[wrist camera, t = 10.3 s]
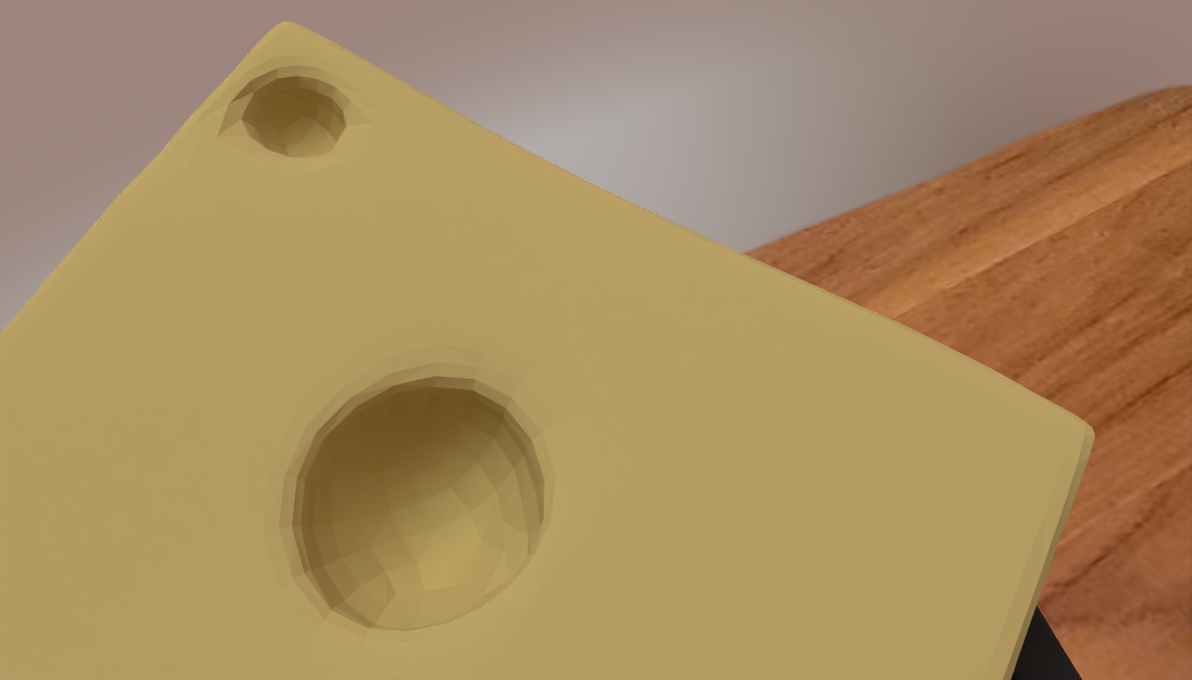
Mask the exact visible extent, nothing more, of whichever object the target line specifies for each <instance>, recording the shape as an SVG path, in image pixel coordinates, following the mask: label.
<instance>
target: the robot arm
mask: <svg viewBox="0 0 1192 680" xmlns="http://www.w3.org/2000/svg"><path fill="white" fill-rule="evenodd" d="M1011 680H1082V679H1081V677H1080V675H1079V674H1078V672H1077V671H1076V669H1075V667H1074V666H1073V664H1072V662H1071V661H1070V659H1069V658H1068V656H1067V654H1066V653H1065V651H1064V649H1063V648H1062V646H1061V644H1060V643H1059V641H1058V640H1057V638H1056V636H1055V635H1054V633H1053V631H1052V630H1051V628H1050V627H1049V625H1048V623H1047V622H1046V620H1045V618H1044V617H1043V615H1042V614H1041V612H1040V610H1039V609H1038V607H1037V605H1036V608H1035V611H1034V614H1033V616H1032V619H1031V622H1030V625H1029V628H1028V631H1027V634H1026V636H1025V639H1024V642H1023V645H1022V648H1021V651H1020V654H1019V656H1018V659H1017V662H1016V665H1015V668H1014V672H1013V675H1012V678H1011Z"/></svg>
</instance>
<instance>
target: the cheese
mask: <svg viewBox="0 0 1192 680" xmlns="http://www.w3.org/2000/svg"><path fill="white" fill-rule="evenodd" d="M1094 438H1095V435H1094V431H1093V428H1092V427H1091V426H1090V425H1088V424H1087V423H1086V422H1085V421H1083V420H1082V419H1080V418H1079V417H1077V416H1076V415H1074V414H1073V413H1071V412H1069V411H1067V410H1065V409H1064V408H1062V407H1060V406H1058V405H1056V404H1055V403H1053V402H1051V401H1049V400H1047V399H1045V398H1044V397H1042V396H1040V395H1038V394H1036V393H1034V392H1032V391H1030V390H1028V389H1026V388H1024V387H1023V386H1021V385H1019V384H1018V383H1016V382H1014V381H1012V380H1010V379H1009V378H1007V377H1005V376H1003V375H1001V374H1000V373H998V372H996V371H994V370H992V369H991V368H989V367H987V366H985V365H983V364H981V363H979V362H977V361H975V360H973V359H971V358H969V357H967V356H965V355H963V354H961V353H959V352H957V351H955V350H953V349H951V348H949V347H947V346H945V345H943V344H941V343H939V342H937V341H935V340H933V339H931V338H929V337H927V336H925V335H923V334H921V333H919V332H917V331H915V330H913V329H911V328H909V327H907V326H904V325H902V324H900V323H898V322H895V321H893V320H891V319H889V318H886V317H884V316H882V315H880V314H877V313H875V312H873V311H871V310H868V309H866V308H864V307H861V306H859V305H857V304H855V303H852V302H850V301H848V300H846V299H843V298H841V297H839V296H837V295H834V294H832V293H830V292H828V291H825V290H823V289H821V288H819V287H816V286H814V285H812V284H810V283H807V282H805V281H803V280H801V279H798V278H796V277H794V276H792V275H789V274H787V273H785V272H782V271H780V270H778V269H776V268H773V267H771V266H769V265H767V264H764V263H762V262H760V261H758V260H755V259H753V258H751V257H749V256H746V255H744V254H742V253H740V252H737V251H735V250H733V249H730V248H728V247H726V246H724V245H722V244H720V243H718V242H715V241H713V240H711V239H709V238H707V237H704V236H702V235H700V234H698V233H696V232H694V231H691V230H689V229H687V228H685V227H683V226H681V225H678V224H676V223H674V222H672V221H670V220H667V219H665V218H663V217H661V216H659V215H657V214H655V213H653V212H650V211H648V210H646V209H644V208H642V207H640V206H638V205H635V204H634V203H632V202H629V201H627V200H625V199H623V198H621V197H619V196H617V195H615V194H613V193H611V192H609V191H606V190H604V189H602V188H600V187H598V186H596V185H594V184H592V183H590V182H588V181H586V180H584V179H582V178H580V177H578V176H576V175H574V174H572V173H570V172H568V171H566V170H564V169H562V168H560V167H558V166H556V165H555V164H552V163H551V162H548V161H547V160H545V159H543V158H541V157H539V156H537V155H535V154H533V153H531V152H529V151H527V150H525V149H523V148H521V147H519V146H517V145H516V144H513V143H512V142H510V141H508V140H506V139H504V138H503V137H501V136H499V135H497V134H496V133H494V132H492V131H490V130H488V129H487V128H485V127H483V126H481V125H480V124H478V123H476V122H474V121H472V120H470V119H469V118H467V117H465V116H463V115H462V114H460V113H458V112H456V111H455V110H453V109H451V108H449V107H447V106H446V105H444V104H442V103H440V102H439V101H437V100H435V99H433V98H431V97H430V96H428V95H426V94H425V93H423V92H421V91H419V90H417V89H416V88H414V87H412V86H411V85H409V84H407V83H405V82H403V81H402V80H400V79H399V78H397V77H395V76H393V75H392V74H390V73H388V72H386V71H385V70H383V69H381V68H379V67H378V66H375V65H374V64H372V63H370V62H369V61H367V60H365V59H363V58H361V57H360V56H358V55H356V54H354V53H352V52H351V51H349V50H347V49H345V48H344V47H342V46H340V45H338V44H336V43H334V42H332V41H331V40H329V39H327V38H325V37H323V36H321V35H319V34H317V33H315V32H313V31H311V30H309V29H307V28H305V27H302V26H300V25H298V24H296V23H293V22H288V21H284V22H282V23H280V24H278V25H276V26H275V27H274V28H273V29H272V30H271V31H270V32H268V33H267V34H266V35H265V36H264V37H263V38H262V39H261V41H260V42H259V43H258V44H257V45H256V46H255V47H254V48H253V49H252V50H251V51H250V52H249V53H248V55H247V56H246V57H245V58H244V59H243V60H242V61H241V63H240V64H239V65H238V66H237V67H236V68H235V69H234V71H233V72H232V73H231V74H230V75H229V76H228V77H227V78H226V80H224V82H223V83H222V84H221V85H220V86H219V87H218V88H217V89H216V90H215V91H214V92H213V93H212V94H211V95H210V96H209V97H208V98H207V99H206V100H205V102H204V103H203V104H202V105H201V106H200V107H199V108H198V109H197V110H196V111H195V112H194V114H193V115H192V116H191V117H190V118H189V119H188V120H187V121H186V123H185V124H184V125H183V126H182V127H181V128H180V130H179V131H178V132H177V133H176V135H175V136H174V137H173V138H172V139H171V140H170V141H169V143H168V144H167V145H166V146H165V147H164V148H163V150H162V151H161V152H160V153H159V154H158V156H157V157H156V158H155V159H154V160H153V161H152V162H151V163H150V164H149V165H148V166H147V167H146V168H145V169H144V170H143V171H142V172H141V173H140V174H139V175H138V176H137V177H136V178H135V179H134V180H133V181H132V182H131V183H130V184H129V185H128V186H127V187H126V188H125V189H124V190H123V191H122V192H121V193H120V195H119V196H117V198H116V199H115V200H114V201H113V202H112V203H111V204H110V206H109V207H108V208H107V209H106V210H105V212H104V213H103V214H102V215H101V216H100V217H99V219H98V220H97V221H96V222H95V223H94V225H93V226H92V227H91V228H90V229H89V230H88V232H87V233H86V234H85V235H84V236H83V238H82V239H81V240H80V241H79V242H78V243H77V245H76V246H75V247H74V248H73V249H72V250H71V252H70V253H69V254H68V255H67V257H65V259H64V260H63V261H62V262H61V263H60V265H59V266H58V267H57V268H56V269H55V270H54V271H53V273H52V274H51V275H50V276H49V277H48V278H47V280H46V281H45V282H44V283H43V284H42V286H41V287H40V288H39V289H38V290H37V291H36V292H35V294H34V295H33V296H32V297H31V298H30V299H29V301H28V302H27V303H26V304H25V305H24V306H23V308H22V309H21V310H20V311H19V312H18V313H17V315H16V316H15V317H14V318H13V319H12V320H11V322H10V323H9V324H8V325H7V326H6V327H5V329H4V330H3V331H2V332H1V333H0V680H1011V678H1012V675H1013V672H1014V668H1015V665H1016V662H1017V659H1018V656H1019V654H1020V651H1021V648H1022V645H1023V642H1024V639H1025V636H1026V634H1027V631H1028V628H1029V625H1030V622H1031V619H1032V616H1033V614H1034V611H1035V608H1036V605H1037V602H1038V599H1039V596H1040V594H1041V591H1042V588H1043V585H1044V582H1045V579H1046V576H1047V574H1048V571H1049V568H1050V565H1051V562H1052V559H1053V556H1054V554H1055V551H1056V548H1057V545H1058V542H1059V539H1060V536H1061V534H1062V531H1063V528H1064V525H1065V523H1066V520H1067V517H1068V514H1069V512H1070V509H1071V506H1072V504H1073V501H1074V498H1075V495H1076V493H1077V490H1078V487H1079V484H1080V481H1081V478H1082V476H1083V473H1084V470H1085V467H1086V464H1087V461H1088V458H1089V456H1090V452H1091V449H1092V445H1093V442H1094Z"/></svg>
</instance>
